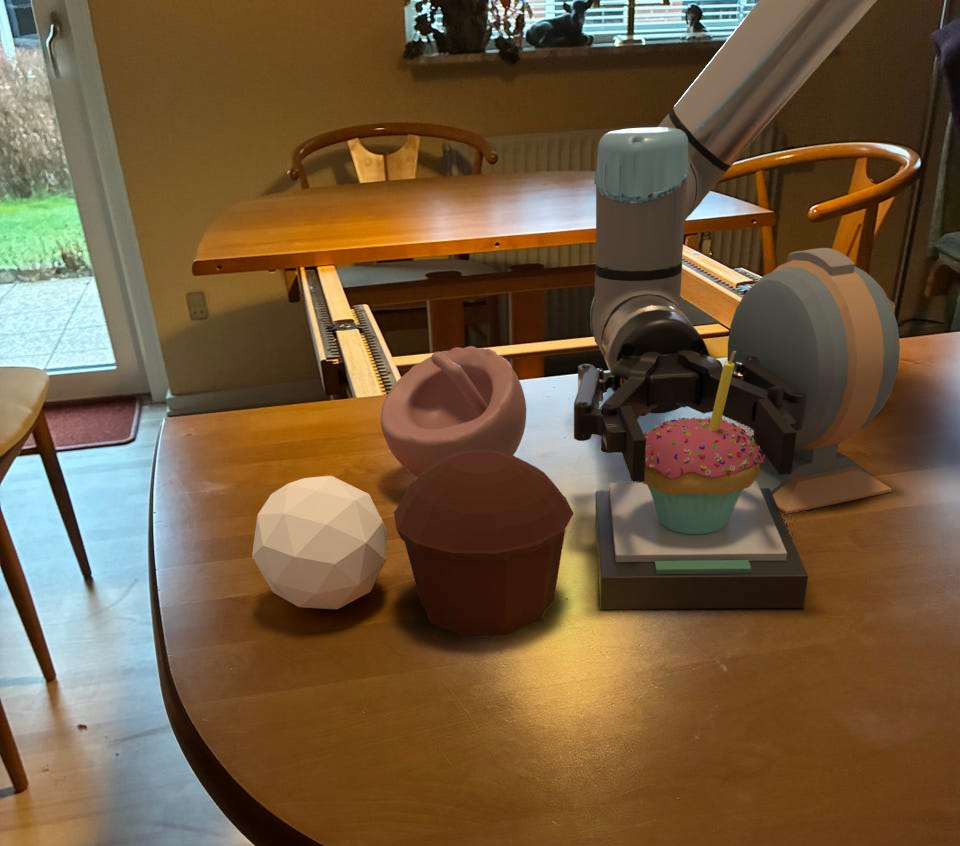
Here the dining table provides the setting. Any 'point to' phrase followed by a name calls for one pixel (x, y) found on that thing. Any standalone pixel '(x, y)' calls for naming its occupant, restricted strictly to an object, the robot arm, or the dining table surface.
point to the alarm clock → (821, 367)
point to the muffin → (484, 541)
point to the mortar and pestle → (454, 408)
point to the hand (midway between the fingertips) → (713, 457)
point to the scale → (695, 556)
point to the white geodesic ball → (320, 542)
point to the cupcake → (700, 467)
